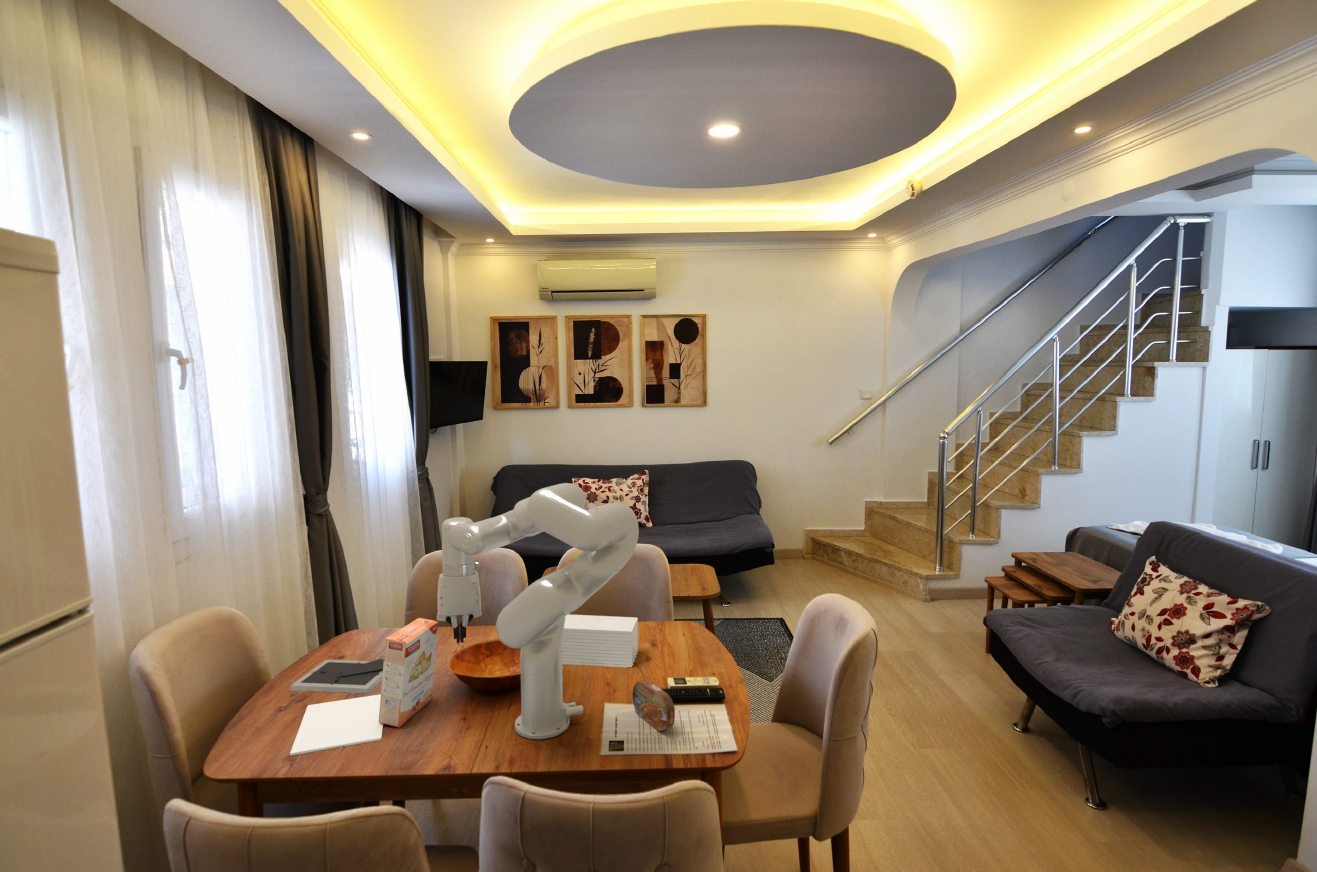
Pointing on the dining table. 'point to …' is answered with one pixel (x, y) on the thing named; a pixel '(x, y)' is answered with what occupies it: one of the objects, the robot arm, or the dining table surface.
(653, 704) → the tin
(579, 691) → the dining table surface
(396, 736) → the dining table surface
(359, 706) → the white flat panel
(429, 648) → the cracker box
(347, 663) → the picture frame
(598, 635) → the stack of papers
